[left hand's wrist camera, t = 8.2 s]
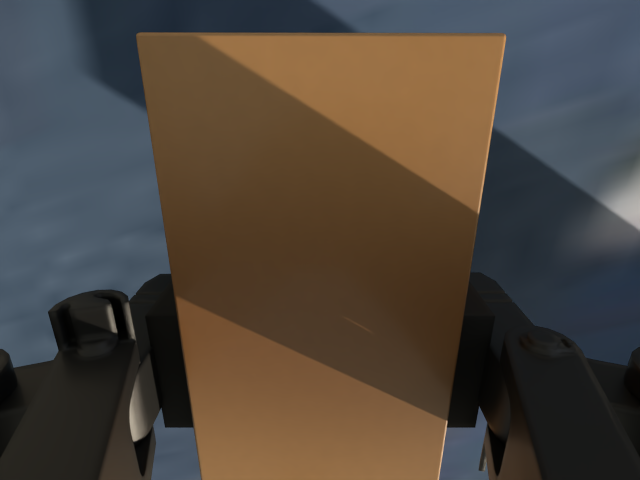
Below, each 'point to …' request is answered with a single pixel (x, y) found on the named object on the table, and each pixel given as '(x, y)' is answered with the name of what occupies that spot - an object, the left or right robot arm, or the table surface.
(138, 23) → the table surface
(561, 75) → the table surface
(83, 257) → the table surface
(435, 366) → the bar
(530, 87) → the table surface
